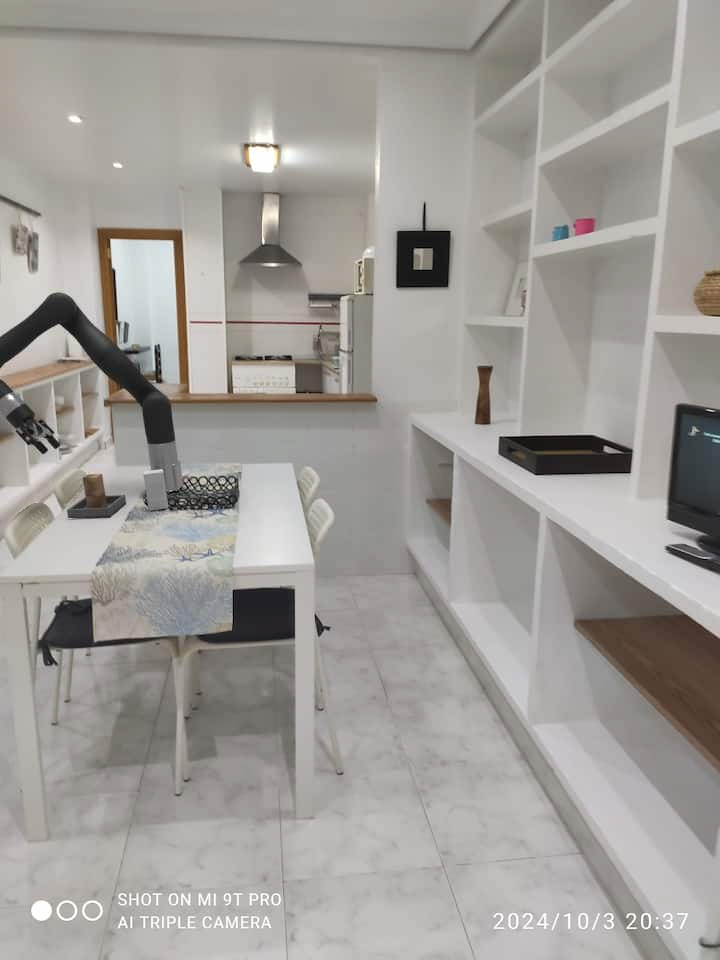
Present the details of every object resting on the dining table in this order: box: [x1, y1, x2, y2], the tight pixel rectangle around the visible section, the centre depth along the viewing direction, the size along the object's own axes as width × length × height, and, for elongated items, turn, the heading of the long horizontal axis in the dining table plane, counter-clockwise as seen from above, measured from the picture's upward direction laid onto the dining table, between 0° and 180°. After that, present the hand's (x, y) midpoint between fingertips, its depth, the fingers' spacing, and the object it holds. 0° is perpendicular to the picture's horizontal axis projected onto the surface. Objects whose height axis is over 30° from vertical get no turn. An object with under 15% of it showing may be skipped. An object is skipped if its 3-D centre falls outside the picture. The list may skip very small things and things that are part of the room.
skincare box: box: [143, 469, 169, 512], centre depth 220 cm, size 6×4×12 cm
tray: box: [66, 494, 127, 519], centre depth 221 cm, size 13×14×3 cm
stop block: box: [82, 473, 107, 508], centre depth 220 cm, size 4×4×11 cm
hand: (52, 449), depth 220 cm, fingers open, 8 cm apart
